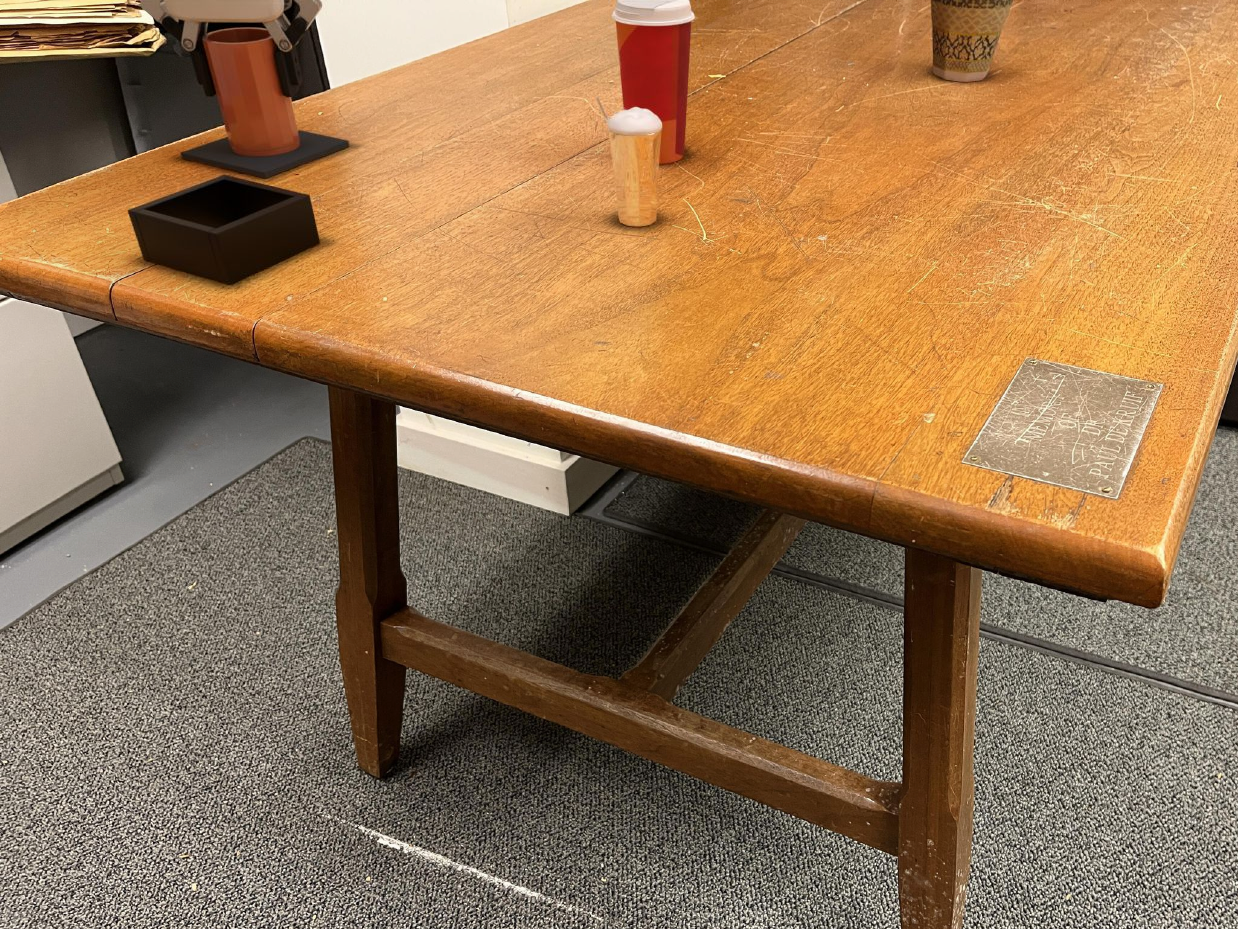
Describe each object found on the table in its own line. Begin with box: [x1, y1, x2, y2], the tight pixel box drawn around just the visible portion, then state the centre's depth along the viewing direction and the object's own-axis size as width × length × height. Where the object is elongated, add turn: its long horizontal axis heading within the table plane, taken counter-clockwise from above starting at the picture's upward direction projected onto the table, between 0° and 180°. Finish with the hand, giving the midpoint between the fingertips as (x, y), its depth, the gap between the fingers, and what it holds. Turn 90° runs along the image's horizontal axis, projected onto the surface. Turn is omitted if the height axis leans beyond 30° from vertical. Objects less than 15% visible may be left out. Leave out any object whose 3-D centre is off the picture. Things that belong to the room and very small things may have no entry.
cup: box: [202, 27, 301, 157], centre depth 100 cm, size 6×6×10 cm
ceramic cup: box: [930, 0, 1014, 83], centre depth 131 cm, size 13×10×10 cm
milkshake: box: [595, 96, 662, 228], centre depth 89 cm, size 5×5×10 cm
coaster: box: [180, 129, 350, 179], centre depth 104 cm, size 11×11×1 cm
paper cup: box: [611, 0, 696, 165], centre depth 101 cm, size 8×8×14 cm
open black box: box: [127, 174, 321, 286], centre depth 84 cm, size 9×9×4 cm
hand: (253, 91), depth 100 cm, fingers closed on cup, 6 cm apart
